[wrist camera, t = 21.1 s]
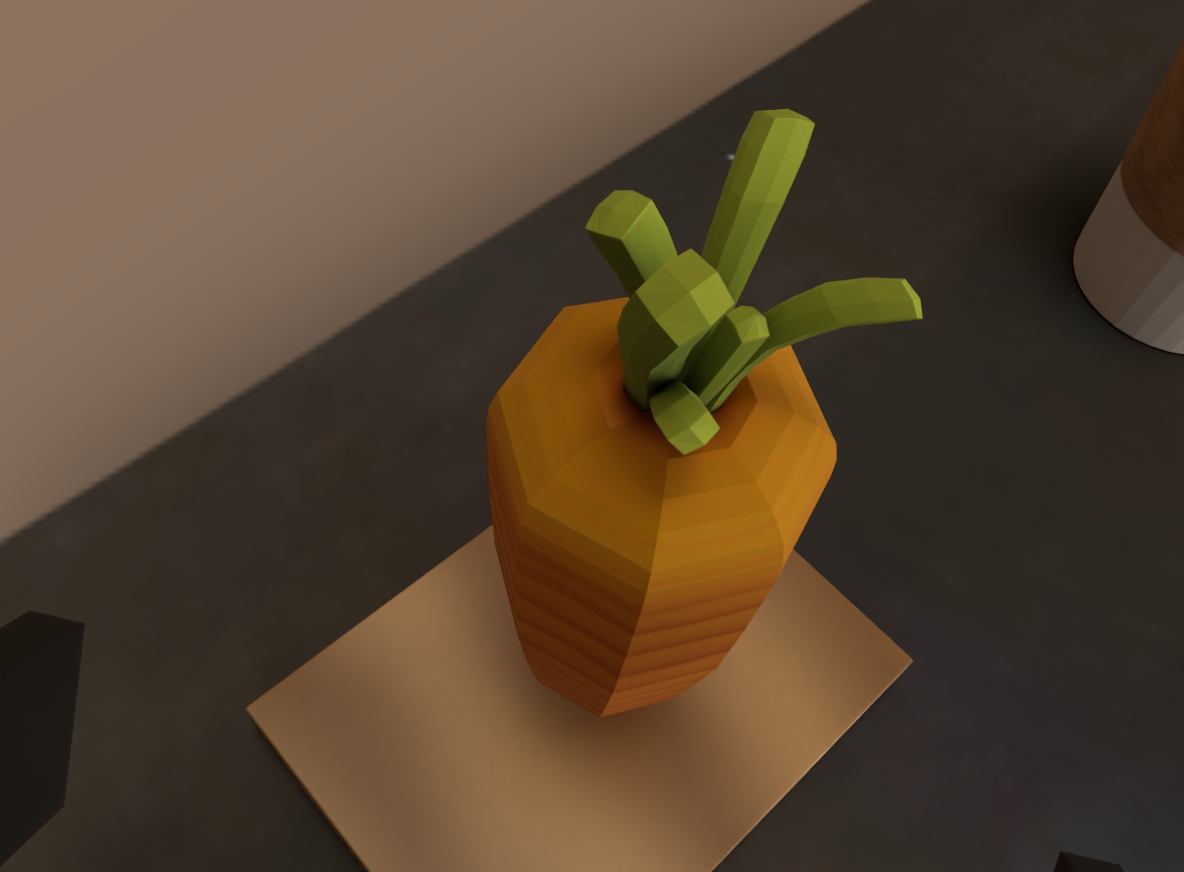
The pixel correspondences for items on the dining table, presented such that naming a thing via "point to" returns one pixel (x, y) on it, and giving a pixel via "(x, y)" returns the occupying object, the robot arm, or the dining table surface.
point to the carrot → (666, 443)
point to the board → (561, 733)
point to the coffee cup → (1142, 228)
